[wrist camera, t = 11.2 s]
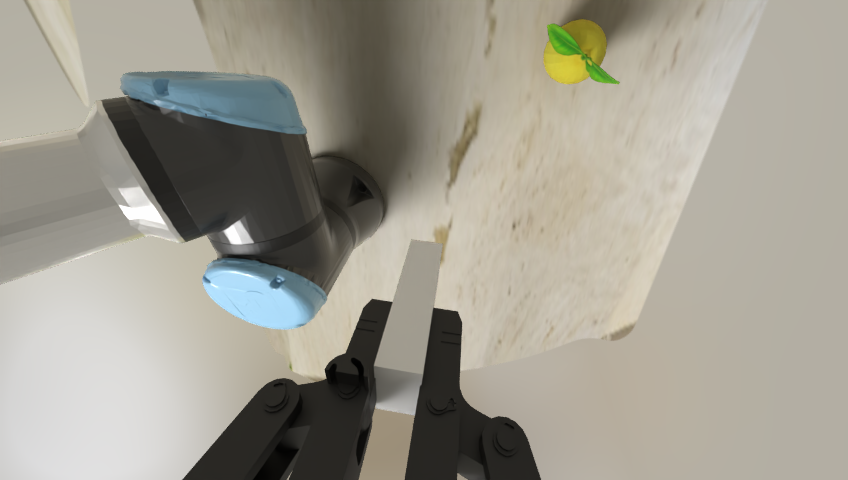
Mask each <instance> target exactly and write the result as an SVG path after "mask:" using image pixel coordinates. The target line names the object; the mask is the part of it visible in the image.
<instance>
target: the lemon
mask: <svg viewBox="0 0 848 480" xmlns="http://www.w3.org/2000/svg"><path fill="white" fill-rule="evenodd" d="M547 28H548V35H549V39H550V40H549V41H548V42H547V45H546V48H545V51H544V65H545V69H546V71H547V73H548V74H549V76H550V77H551V78H552V79H554V80H555V81H557V82H559V83H564V84H574V83H579V82H581V81H583V80H585V79H587V78H588V77H589V76H590V77H591V78H592V79H593V80H595V81H597V82H602V83H612V84H619V83H620V82H618V81H616V80H615V79H613V78H612V77H611V76H609V75H608V74H607V73H606V72H605V71H604V70H603V69H602V68H600V67H599V66H600V65H601V63H602V61H603V59H604V56H605V53H606V47H607V42H606V36H605V34H604V32H603V31H602V29H601V27H600V26H599V25H597V24H596V23H594V22H593V21H590V20H584V19H579V20H575V21H571V22H569V23H567V24H565V25H563V26H561V27H560V26H558V25H556V24H550V25H547Z"/></svg>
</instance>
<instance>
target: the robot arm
mask: <svg viewBox="0 0 848 480" xmlns="http://www.w3.org/2000/svg"><path fill="white" fill-rule="evenodd" d="M120 89H121V90H122V92H123V93H124V94H125V95H128V96H126V97H120V98H113V99H105V100H98V101H95V103H94V105H93V107H92V109H91V111H90V112H89V114H88V116H87V118H86V120H85V122H84V123H83V124H82V125H81V126H79V127H78V128H76V129H71V130H65V131H59V132H52V133H46V134H40V135H34V136H28V137H22V138H16V139H10V140H3V141H0V285H1V284H3V283H7V282H9V281H13V280H16V279H19V278H22V277H25V276H28V275H31V274H34V273H37V272H40V271H43V270H46V269H49V268H52V267H55V266H58V265H61V264H64V263H67V262H70V261H73V260H76V259H79V258H82V257H85V256H88V255H91V254H94V253H97V252H100V251H103V250H106V249H109V248H112V247H115V246H118V245H121V244H124V243H127V242H130V241H133V240H136V239H139V238H142V237H145V236H156V237H160V238H163V239H167V240H170V241H174V242H178V243H185V242H188V241H190V240H193V239H196V238H199V237H201V236H205V235H207V236H208V238H209V240H210V242H211V243H212V245H213V247H214V249H215V251H216V253H217V255H218V258H217V260H213V261H212V262H211V263H210V264H209V265H208V266H207V270H206V271H205V274H204V276H203V286H204V288H205V290H206V292H207V293H208V294H209V296H210V297H211V298H212V299H213V300H214V301H215V302H216V303H217V304H218V305H219V306H221V307H222V308H224V309H225V310H226V311H228V312H230V313H231V314H233V315H235V316H236V317H238V318H241V319H243V320H245V321H247V322H250V323H253V324H256V325H259V326H263V327H267V328H272V329H294V328H298V327H301V326H303V325H305V324H306V323H308V322H310V321H311V320H312V319H313V318H314V316H315V315H316V314H317V312H318V311H319V309H320V308H321V307H322V305H323V304H325V302H326V300H327V296H328V294H329V292H330V290H331V289H332V287H333V285H334V283H335V281H336V280H337V278H338V276H339V274H340V272H341V271H342V269H343V267H344V265H345V263H346V262H347V260H348V258H349V256H350V254H351V252H352V251H353V249H355V248H356V247H357V246H359V245H360V244H362V243H363V242H364V241H366V240H368V239H369V238H370V237H371V236H372V235H373V234H374V233H375V232H376V230H377V228H378V226H379V225H380V223H381V220H382V218H383V214H384V202H383V197H382V194H381V192H380V189H379V187H378V186H377V184H376V183H375V181H374V180H373V179H372V177H371V176H370V175H369V174H368V173H367V172H366V171H365V170H363V169H362V168H361V167H359V166H358V165H356V164H354V163H352V162H350V161H348V160H345V159H342V158H338V157H332V156H324V157H318V158H315V159H312V157H311V153H310V149H309V145H308V141H307V137H306V133H307V130H306V128H305V127H304V126H303V124H302V121H301V118H300V115H299V112H298V109H297V106H296V102H295V99H294V96H293V94H292V92H291V91H290V89H289V88H288V87H287V86H286V85H285V84H284V83H282V82H281V81H279V80H277V79H275V78H271V77H267V76H260V75H249V74H236V73H217V72H184V71H183V72H182V71H180V72H179V71H176V72H175V71H161V72H131V73H125V74H123V75H122V77H121V87H120ZM442 245H443V244H441V243H433V242H426V241H419V240H412V239H411V243H410V246H409V249H408V253H407V256H406V259H405V263H404V266H403V269H402V273H401V276H400V279H399V283H398V286H397V290H396V293H395V296H394V300H393V302H389V301H382V300H376V299H372V300H371V301H370V302H369V303H368V304H367V305H366V306H365V307H364V308H363V310H362V313H361V316H360V318H359V321H358V323H357V326H356V329H355V331H354V333H353V336H352V338H351V341H350V343H349V346H348V348H347V351H346V354H342V355H339V356H337V357H335V358H334V359H333V360H331V361H330V362H329V363H328V365H327V366H326V368H325V373H326V378H327V379H325V380H322V381H319V382H314V383H308V384H301V385H297V384H296V383H295V382H294V381H292V380H290V379H286V378H282V379H276V380H273V381H271V382H269V383H267V384H266V385H265V386H264V387H263V388H261V389H260V390H259V391H258V392H257V394H256V395H255V396H254V397H253V398H252V399H251V401H250V402H249V403H248V404H247V405H246V406H245V408H244V409H243V410H242V411H241V412H240V413H239V414H238V416H237V417H236V418H235V419H234V420H233V421H232V423H231V424H230V425H229V426H228V427H227V428H226V430H225V431H224V432H223V433H222V434H221V436H220V437H219V438H218V439H217V440H216V441H215V443H214V444H213V445H212V446H211V447H210V448H209V449H208V451H207V452H206V453H205V454H204V455H203V456H202V458H201V459H200V460H199V461H198V462H197V463H196V465H195V466H194V467H193V468H192V469H191V470H190V471H189V473H188V474H187V475H186V476H185V477H184V479H183V480H287V478H288V476H289V475H290V473H291V472H292V473H291V476H290V478H289V480H358V479H359V475H360V472H361V467H362V463H363V460H364V456H365V452H366V448H367V444H368V440H369V436H370V432H371V428H372V416H373V412H374V409H375V405H376V408H377V409H383V410H388V411H394V412H399V413H404V414H410V415H415V418H414V424H413V431H412V437H411V443H410V450H409V456H408V462H407V468H406V475H405V480H457V473H459V474H460V475H462V476H463V477H465V478H466V479H468V480H541V478H540V475H539V472H538V469H537V466H536V463H535V460H534V457H533V454H532V451H531V448H530V445H529V442H528V439H527V437H526V435H525V433H524V431H523V429H522V428H521V427H520V426H519V425H518V424H517V423H516V422H515V421H513V420H511V419H509V418H507V417H500V416H498V417H495V418H492V419H491V418H489V417H488V416H486V415H484V414H482V413H480V412H479V411H477V410H475V409H474V408H473V407H471V406H470V405H469V404H468V403H467V402H466V401H465V399H464V398H463V396H462V393H461V390H460V384H459V380H460V378H459V377H460V359H461V338H462V337H461V335H462V321H461V319H460V316H459V314H458V312H457V311H451V310H444V309H438V308H434V303H435V296H436V290H437V283H438V275H439V268H440V260H441V253H442ZM292 470H293V471H292Z"/></svg>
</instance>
